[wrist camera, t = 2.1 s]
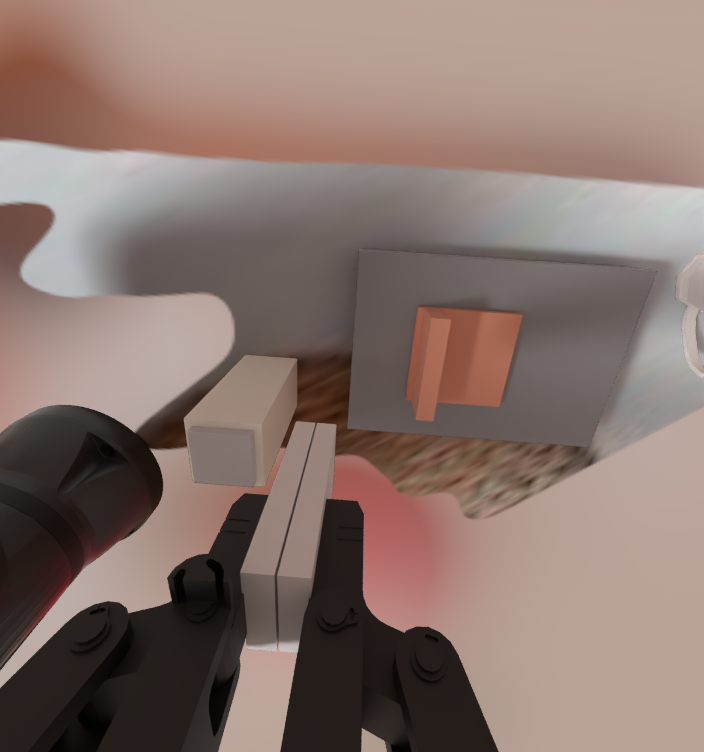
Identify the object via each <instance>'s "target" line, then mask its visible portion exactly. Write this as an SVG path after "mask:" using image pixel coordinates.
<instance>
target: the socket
mask: <svg viewBox="0 0 704 752" xmlns="http://www.w3.org/2000/svg"><path fill="white" fill-rule="evenodd" d="M657 272H658V271H652V270H646V269H639V268H632V267H623V266H609V265H594V264H580V263H565V262H551V261H536V260H521V259H507V258H492V257H478V256H463V255H449V254H434V253H419V252H405V251H390V250H376V249H361V248H360V250H359V259H358V274H357V289H356V304H355V319H354V334H353V350H352V365H351V380H350V395H349V410H348V425H347V429H357V430H370V431H383V432H397V433H410V434H423V435H436V436H449V437H463V438H476V439H489V440H502V441H515V442H529V443H542V444H555V445H568V446H581V447H589V446H590V443H591V441H592V438H593V436H594V433H595V431H596V428H597V426H598V423H599V420H600V418H601V415H602V413H603V410H604V408H605V405H606V402H607V400H608V397H609V395H610V392H611V390H612V387H613V384H614V382H615V379H616V377H617V374H618V372H619V369H620V366H621V364H622V361H623V359H624V356H625V354H626V351H627V349H628V346H629V343H630V341H631V338H632V336H633V333H634V331H635V328H636V325H637V323H638V320H639V318H640V315H641V313H642V310H643V307H644V305H645V302H646V300H647V297H648V295H649V292H650V289H651V287H652V284H653V282H654V279H655V277H656V274H657ZM417 306H428V307H442V308H456V309H470V310H484V311H498V312H512V313H520V314H522V315H523V316H522V320H521V324H520V328H519V332H518V336H517V339H516V343H515V347H514V351H513V355H512V359H511V363H510V367H509V371H508V375H507V379H506V382H505V386H504V390H503V394H502V398H501V402H500V406H499V407H492V406H479V405H465V404H452V403H439V402H437V403H436V409H435V414H434V420H433V421H423V420H416V418H415V414H414V410H413V406H412V402H411V400H406V398H405V394H406V387H407V379H408V372H409V365H410V357H411V350H412V343H413V335H414V328H415V320H416V313H417Z"/></svg>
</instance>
